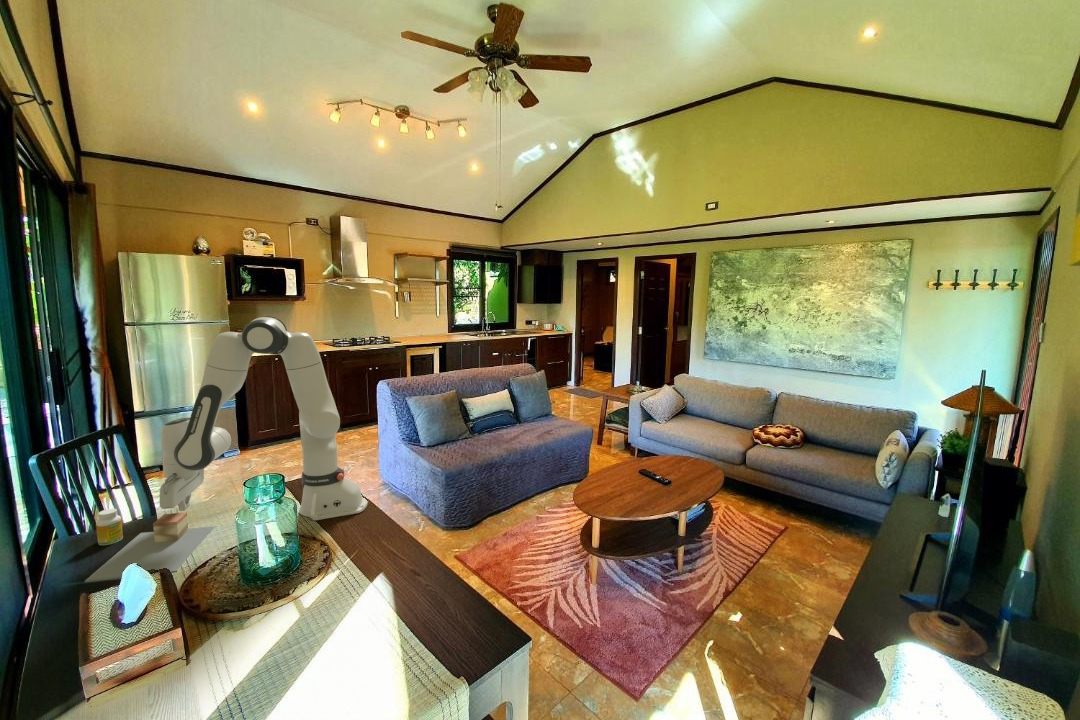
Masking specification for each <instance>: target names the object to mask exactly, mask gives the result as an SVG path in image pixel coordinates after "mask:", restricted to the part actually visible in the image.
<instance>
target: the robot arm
mask: <svg viewBox="0 0 1080 720" xmlns="http://www.w3.org/2000/svg"><path fill="white" fill-rule="evenodd" d="M255 353H257V354H262V355H280V356H281V358H282V360H283V363H284V367H285V371H286V374H287V377H288V381H289V385H290V387H291V391H292V393H293V397H294V400H295V402H296V405H297V408H298V410H299V411H298V417H299V418H298V419H299V422H298V423H299V430H300V441H301V449H302V450H301V451H302V470H303V471H302V473H301V485H302V487H301V488H302V498H301V503H300V508H299V510H298V512H299V514H300V515H302V516H304V517H308V518H310V519H311V520H313V521H319V520H325V519H332V518H337V517H344V516H350V515H354V514H360V513H362V512H363V511H364V510H366V508H367V506H368V504H369V498H368V496H367V495H366V494H365V493H362V491H361V488H360V486H359V484H358V483H356V482H355V481H353V480H351V479H349V478H347V477H345V467H342V468H341V467H339V463H338V462H339V461H338V458H339V457H338V456H339V455H338V444H337V439H336V434H337V432H338V431H339V430H340V426H341V417H340V413H339V411H338V409H337V408H338V407H337V406H336V401H335V398H334V396H333V394H332V391H331V388H330V385H329V383H328V378H327V375H326V371H325V368H324V364H323V361H322V358H321V354H320V351H319V349H318V347H317V344H316V342H315V340H314V339H313V337H312V336H311V335H310V334H308V333H306V332H303V331H302V332H301V331H296V332H289V331H288V329H287V326H286V324H285V323H284V322H283V321H282V320H281V319H279V318H277V317H274V316H262V317H261V316H259V317H257V318H255V319H253V320H251V321H250V322H248V323H247V324H246V325H245V326H244V327H243V330H242V331H241V332H237V331H236V332H235V331H224V332H221V333H219V334H218V335H216V336H215V339H213V342H212V344H211V347H210V349H209V353H208V356H207V359H206V363H205V367H204V368H205V369H204V372H203V373H204V374H203V375H202V376H203V377H202V380H201V381H202V382H201V383H200V384H201V385H200V387H199V389H198V390H199V391H198V394H197V397H196V400H195V402H194V404H193V408H192V410H191V414H190V417H182V418H177V419H174V420H171V421H169V422H167V423H165V424H164V425H163V427H162V429H161V435H160V441H161V444H160V445H161V451H162V453H163V458H162V469H163V477H164V478H165V480H164V482H163V483H162V484H161V485H160V488H159V507H160V508H161V509H163V510H164V509H166V510H167V509H168V510H169V509H174V508H176V507H177V506H178V507H177V508H178V511H179V512H185V510H187V509H188V508H189V507H190V503H191V502H190V501H191V498H192V494H193V492H194V491H195V490H197V489H198V488H199V487H200V486H201V485H202V484H203V483H204V481H205V468H207V467H209V465H210V464H211V463H212V462H213V461H214V460H216V459H218V458H219V457H221V455H223V454H225V452H226V451H228V450H229V449H230V448H231V446H232V444H233V437H232V435H231V433H230V432H229V431H228V429H226V428H223V427H222V426H221V427H220V426H215V425H216V422H217V418H218V415H219V413H220V411H221V409H222V407H223V406H224V405H225V404H226V403H227V402H228V400H230V399H231V398H232V397H234V395H235V394H236V393H238V392H239V391H240V390H241V389H242V387H243V385H244V383H245V381H246V378H247V376H248V371H249V366H250V362H251V358H252V356H253V354H255ZM361 494H362V495H363V496H364V497H366V498H367V499H368V501H367V500H366V499H365V498H363V497H362V495H361Z"/></svg>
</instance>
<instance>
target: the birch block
mask: <svg viewBox="0 0 1080 720" xmlns="http://www.w3.org/2000/svg"><path fill="white" fill-rule="evenodd" d="M152 526H153V527H152V528H153V532H154V539H155V542H165V541H175V540H179V539H180V538H181V537H182V536H183V535H184V534H185V533H186V532H187V531H188V529H189V522H188V512H185V511H184V512H174V513H164V514H162V516H160V517H159V518H158V519H157V520H156V521H154V522H153V523H152Z"/></svg>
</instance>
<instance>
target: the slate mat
mask: <svg viewBox="0 0 1080 720" xmlns="http://www.w3.org/2000/svg"><path fill="white" fill-rule="evenodd" d="M215 528H216V526H204V527H193V528H192V527H191V528H188V531H187V532H186V533H185V534H184V535H183V536H182V537H181V538H180V539H179V540H175V541H165V542H155V539H154V531H149V532H148V531H146V532H145V531H144V532H140V533H139V534H138V535H136V536H135V537H134V538H133V539H132V540H131V541H130V542H128V543H127V544H126V545H124V547H123V548H121V549H120V550H119V551H118V552H117V553H116V554H114V555H112V557H110V559H108V560H107V561H106V562H105V563H104V564H103V565H101V566H100V567H99V568H98V569H97V570H95V571H94V572H93V573H92V574H91V575H89V577H87V578H86V579H85V580H84V583H91V582H92V583H93V582H94V583H95V582H101V581H103V582H104V581H109V580H118V579H119V580H120V579H122V578H121V576H122V572H123V570H124V569H125V568H126V567H127V566H128V565H129V564H131V563H137V564H138V565H140V566H141V567H142V568H144V569H146V570H151V569H155V570H159V569H163V568H167V569H169V570H170V572H171V573H170V574H172V573H173V574H174V573H177V572H178V569H179V568H180V567H181V566H182V565H183V564H184V563H185V561H187V559H188V558H189V557H190V556H191V555H192V553H194V551H195V550H197V548H198V547H199V546H200V545H201V544H202V542H203V541H204V540H205V538H207V537H208V535H209V534H210V533H211V532H212V531H213V529H215Z"/></svg>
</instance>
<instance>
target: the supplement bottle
mask: <svg viewBox="0 0 1080 720" xmlns="http://www.w3.org/2000/svg"><path fill="white" fill-rule="evenodd" d="M95 523H96V524H95V528H96V536H97V544H98V545H99V546H108V545H112V544H116V543H118V542H119V541H122V540H123V538H124V534H123V524H122V523H123V522H122V516H120V515H118V509H117V508H105V509H103V510H101V511H99V512H98V520H96V522H95Z"/></svg>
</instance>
